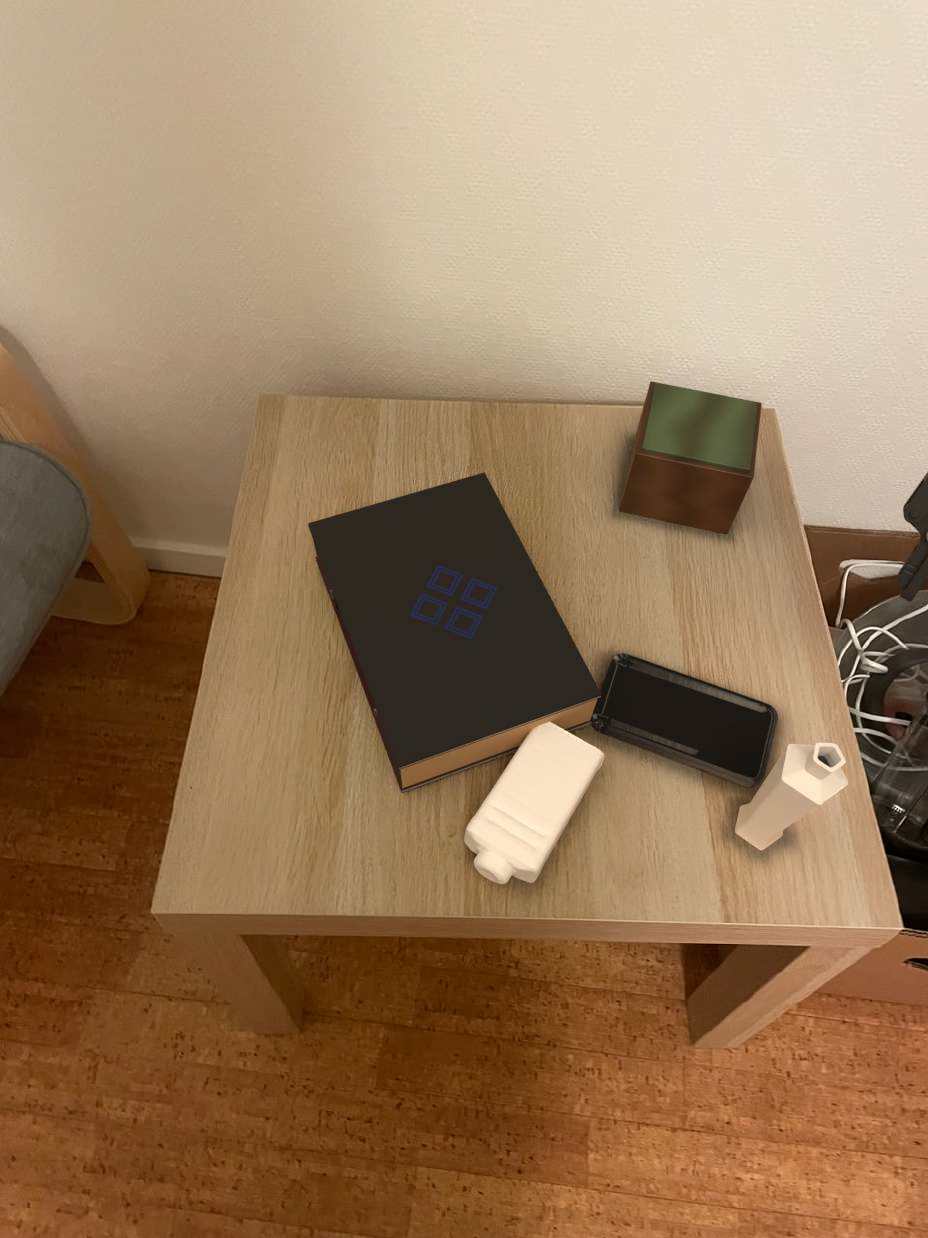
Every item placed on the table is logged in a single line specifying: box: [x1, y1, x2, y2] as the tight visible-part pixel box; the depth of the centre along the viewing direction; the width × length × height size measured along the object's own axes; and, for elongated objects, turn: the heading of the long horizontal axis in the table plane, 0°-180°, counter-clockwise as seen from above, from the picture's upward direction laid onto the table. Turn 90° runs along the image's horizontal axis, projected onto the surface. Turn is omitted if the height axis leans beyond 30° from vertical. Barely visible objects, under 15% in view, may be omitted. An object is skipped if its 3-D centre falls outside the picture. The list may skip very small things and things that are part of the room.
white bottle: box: [463, 722, 605, 885], centre depth 67 cm, size 6×13×4 cm, turn 148°
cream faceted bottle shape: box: [734, 741, 849, 851], centre depth 63 cm, size 5×4×15 cm
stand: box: [619, 380, 763, 535], centre depth 84 cm, size 11×10×9 cm
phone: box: [590, 652, 779, 788], centre depth 73 cm, size 8×1×15 cm
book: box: [307, 472, 602, 794], centre depth 75 cm, size 17×25×7 cm
